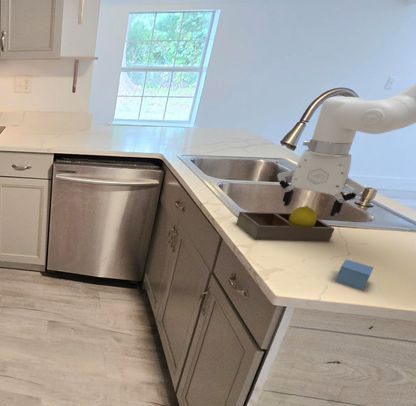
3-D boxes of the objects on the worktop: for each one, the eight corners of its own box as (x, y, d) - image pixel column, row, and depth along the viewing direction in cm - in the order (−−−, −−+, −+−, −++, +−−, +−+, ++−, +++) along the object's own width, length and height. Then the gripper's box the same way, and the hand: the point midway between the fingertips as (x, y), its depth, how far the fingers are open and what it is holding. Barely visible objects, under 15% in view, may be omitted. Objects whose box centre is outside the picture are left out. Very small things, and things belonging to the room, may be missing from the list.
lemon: (298, 238, 99) (308, 211, 96) (280, 228, 104) (288, 203, 101) (316, 236, 100) (326, 209, 97) (296, 227, 105) (306, 201, 102)
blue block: (365, 284, 81) (373, 267, 79) (361, 292, 78) (370, 275, 77) (338, 275, 84) (345, 259, 82) (333, 283, 82) (341, 266, 80)
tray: (328, 243, 97) (334, 228, 96) (254, 241, 100) (258, 226, 98) (303, 227, 106) (308, 213, 104) (235, 225, 108) (239, 211, 106)
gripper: (282, 144, 96) (265, 204, 103) (375, 156, 84) (350, 223, 90) (290, 140, 101) (274, 197, 107) (380, 150, 88) (355, 215, 94)
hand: (309, 209), depth 99 cm, fingers open, 9 cm apart
